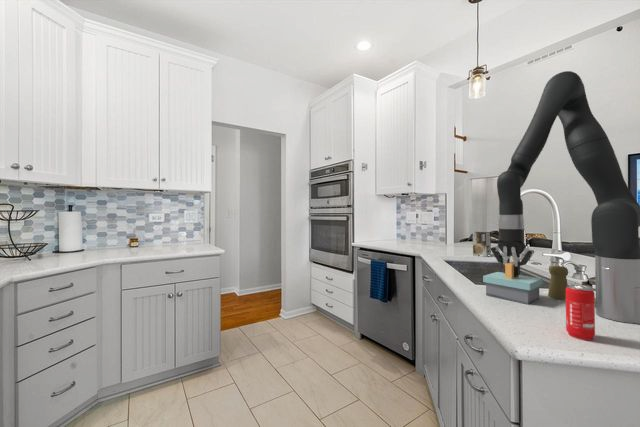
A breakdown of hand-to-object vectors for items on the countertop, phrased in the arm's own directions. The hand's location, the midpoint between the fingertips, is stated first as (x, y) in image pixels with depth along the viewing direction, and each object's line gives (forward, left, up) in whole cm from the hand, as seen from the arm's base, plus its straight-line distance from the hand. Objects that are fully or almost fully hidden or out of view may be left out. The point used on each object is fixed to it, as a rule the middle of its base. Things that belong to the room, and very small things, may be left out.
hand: (511, 275), depth 100 cm
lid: (0, 0, -3) cm, 3 cm away
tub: (0, 0, -8) cm, 8 cm away
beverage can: (-23, +22, -8) cm, 33 cm away
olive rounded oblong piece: (-10, -12, -8) cm, 17 cm away
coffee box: (+50, -85, -8) cm, 99 cm away
